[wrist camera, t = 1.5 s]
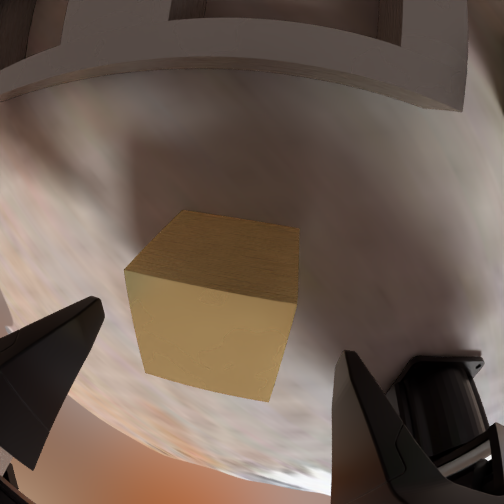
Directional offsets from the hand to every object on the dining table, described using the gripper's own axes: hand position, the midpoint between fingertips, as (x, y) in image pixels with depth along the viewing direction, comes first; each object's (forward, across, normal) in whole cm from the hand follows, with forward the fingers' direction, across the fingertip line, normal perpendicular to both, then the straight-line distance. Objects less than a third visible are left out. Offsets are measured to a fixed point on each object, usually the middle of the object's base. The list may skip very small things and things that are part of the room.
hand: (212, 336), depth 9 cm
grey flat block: (+4, +5, -13) cm, 15 cm away
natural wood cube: (+4, 0, 0) cm, 4 cm away
